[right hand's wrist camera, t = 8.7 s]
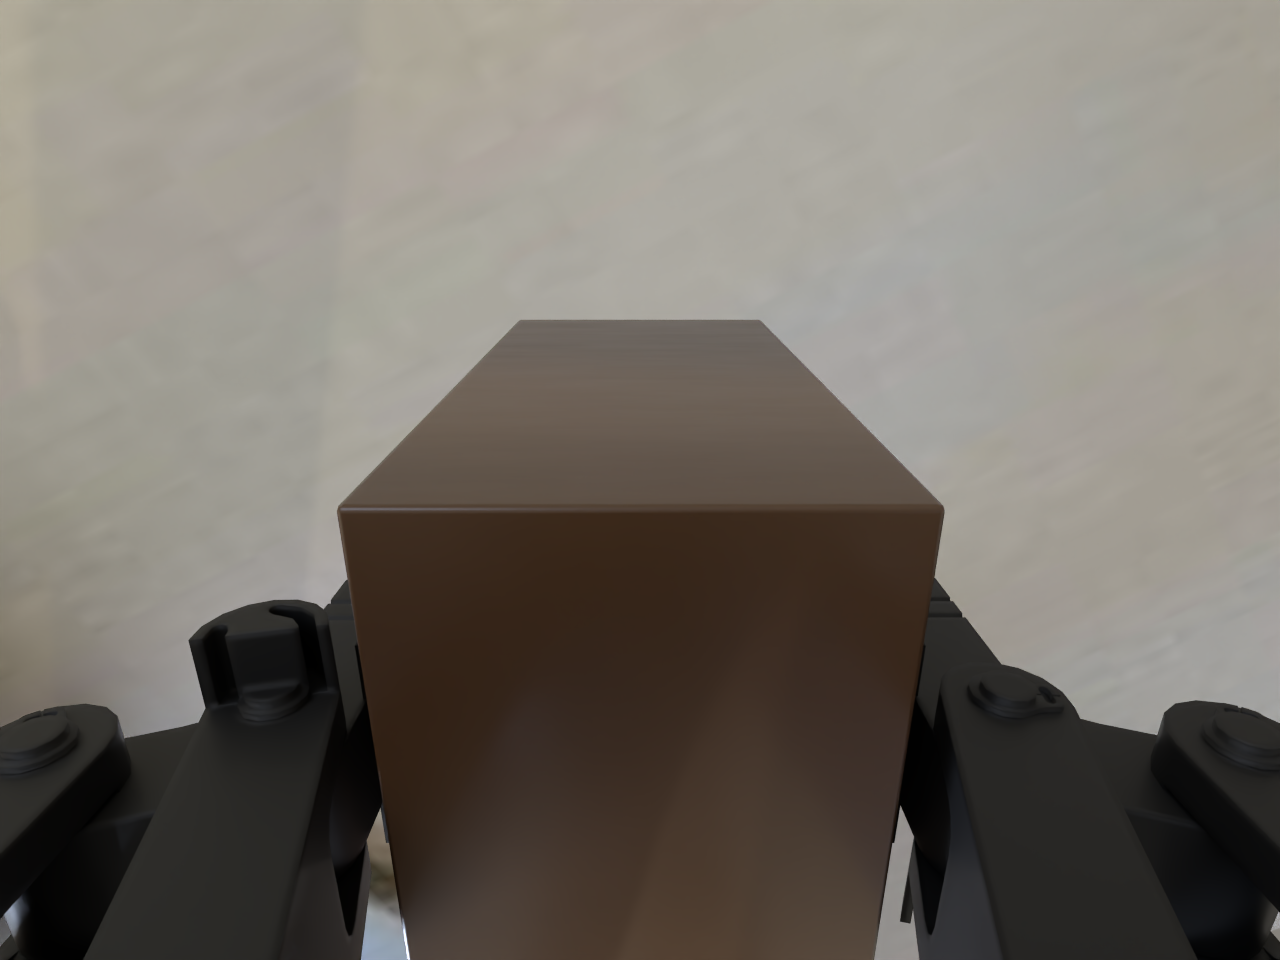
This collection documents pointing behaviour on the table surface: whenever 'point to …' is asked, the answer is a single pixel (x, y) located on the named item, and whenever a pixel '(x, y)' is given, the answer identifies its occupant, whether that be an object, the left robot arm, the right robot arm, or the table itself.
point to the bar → (640, 650)
